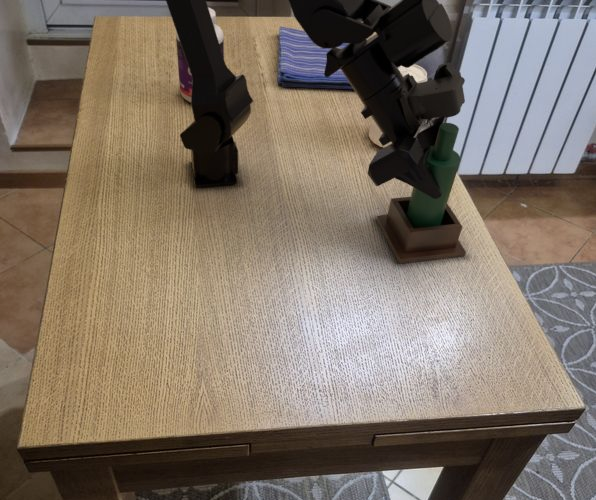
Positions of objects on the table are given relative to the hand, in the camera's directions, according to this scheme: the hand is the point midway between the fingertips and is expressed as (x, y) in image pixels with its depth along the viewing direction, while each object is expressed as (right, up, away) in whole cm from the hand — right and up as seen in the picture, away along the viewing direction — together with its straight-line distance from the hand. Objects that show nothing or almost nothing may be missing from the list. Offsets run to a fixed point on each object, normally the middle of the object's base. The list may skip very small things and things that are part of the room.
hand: (443, 186), depth 82 cm
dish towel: (-15, +36, +42) cm, 58 cm away
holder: (-2, -6, +7) cm, 9 cm away
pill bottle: (-37, +24, +30) cm, 53 cm away
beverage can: (-3, +14, +25) cm, 29 cm away
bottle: (-2, -4, +5) cm, 7 cm away
